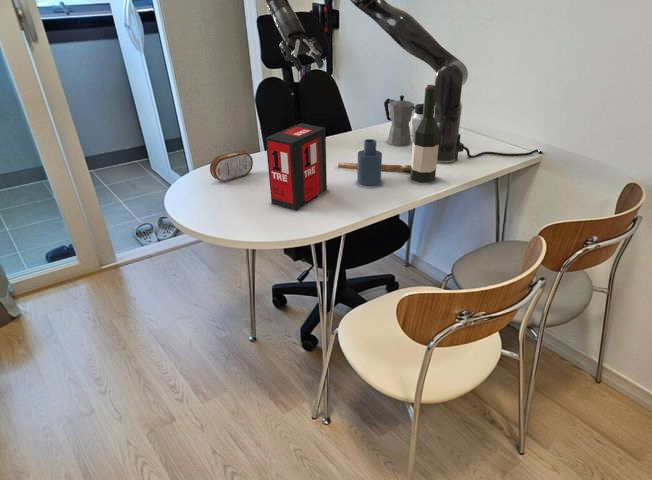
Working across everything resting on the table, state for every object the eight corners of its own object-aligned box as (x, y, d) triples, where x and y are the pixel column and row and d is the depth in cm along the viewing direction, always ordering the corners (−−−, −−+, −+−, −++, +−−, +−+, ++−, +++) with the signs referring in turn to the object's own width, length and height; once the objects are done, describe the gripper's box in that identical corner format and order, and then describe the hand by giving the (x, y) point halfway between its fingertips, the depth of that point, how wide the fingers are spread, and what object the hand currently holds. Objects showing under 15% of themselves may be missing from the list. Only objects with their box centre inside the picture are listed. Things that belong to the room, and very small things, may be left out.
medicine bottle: (428, 137, 203) (431, 107, 196) (410, 135, 204) (413, 106, 197) (429, 132, 208) (432, 102, 202) (412, 130, 209) (414, 101, 203)
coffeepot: (419, 143, 195) (423, 96, 185) (403, 149, 190) (407, 100, 180) (391, 134, 204) (393, 89, 194) (375, 139, 199) (376, 93, 189)
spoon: (336, 160, 170) (416, 163, 165) (339, 165, 175) (417, 168, 170) (335, 165, 169) (416, 169, 165) (338, 170, 175) (416, 174, 170)
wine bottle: (418, 186, 160) (427, 89, 143) (405, 177, 166) (411, 83, 149) (439, 182, 163) (450, 87, 147) (425, 173, 169) (434, 81, 153)
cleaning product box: (295, 210, 144) (291, 143, 133) (271, 203, 148) (265, 137, 137) (326, 191, 156) (325, 127, 145) (303, 185, 160) (300, 123, 148)
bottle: (376, 177, 166) (377, 136, 158) (383, 186, 160) (385, 143, 152) (354, 180, 164) (355, 138, 156) (361, 188, 158) (362, 145, 150)
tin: (250, 171, 169) (247, 146, 164) (255, 173, 167) (253, 149, 163) (211, 182, 160) (207, 157, 156) (216, 185, 158) (212, 160, 154)
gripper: (275, 18, 155) (298, 63, 155) (310, 16, 164) (333, 58, 163) (266, 35, 162) (289, 78, 161) (301, 31, 170) (323, 73, 169)
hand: (311, 68), depth 162 cm, fingers open, 8 cm apart
